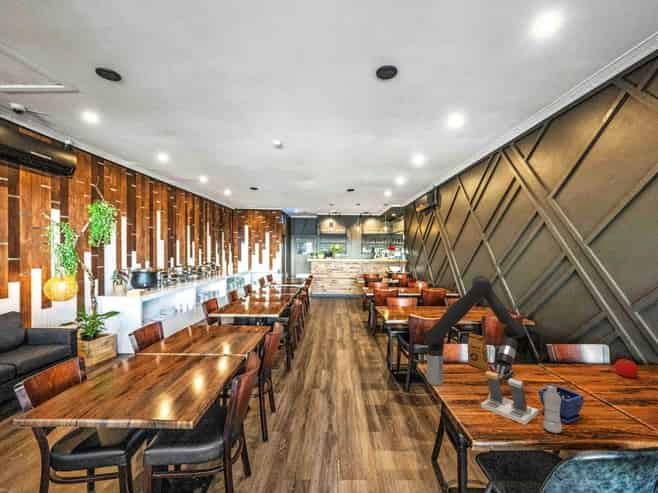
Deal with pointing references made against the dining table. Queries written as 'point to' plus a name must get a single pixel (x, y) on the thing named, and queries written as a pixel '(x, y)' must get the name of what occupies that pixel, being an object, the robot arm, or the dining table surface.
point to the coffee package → (477, 351)
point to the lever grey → (518, 394)
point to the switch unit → (509, 410)
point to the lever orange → (494, 386)
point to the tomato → (626, 368)
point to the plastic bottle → (552, 409)
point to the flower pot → (566, 404)
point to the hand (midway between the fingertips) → (497, 385)
